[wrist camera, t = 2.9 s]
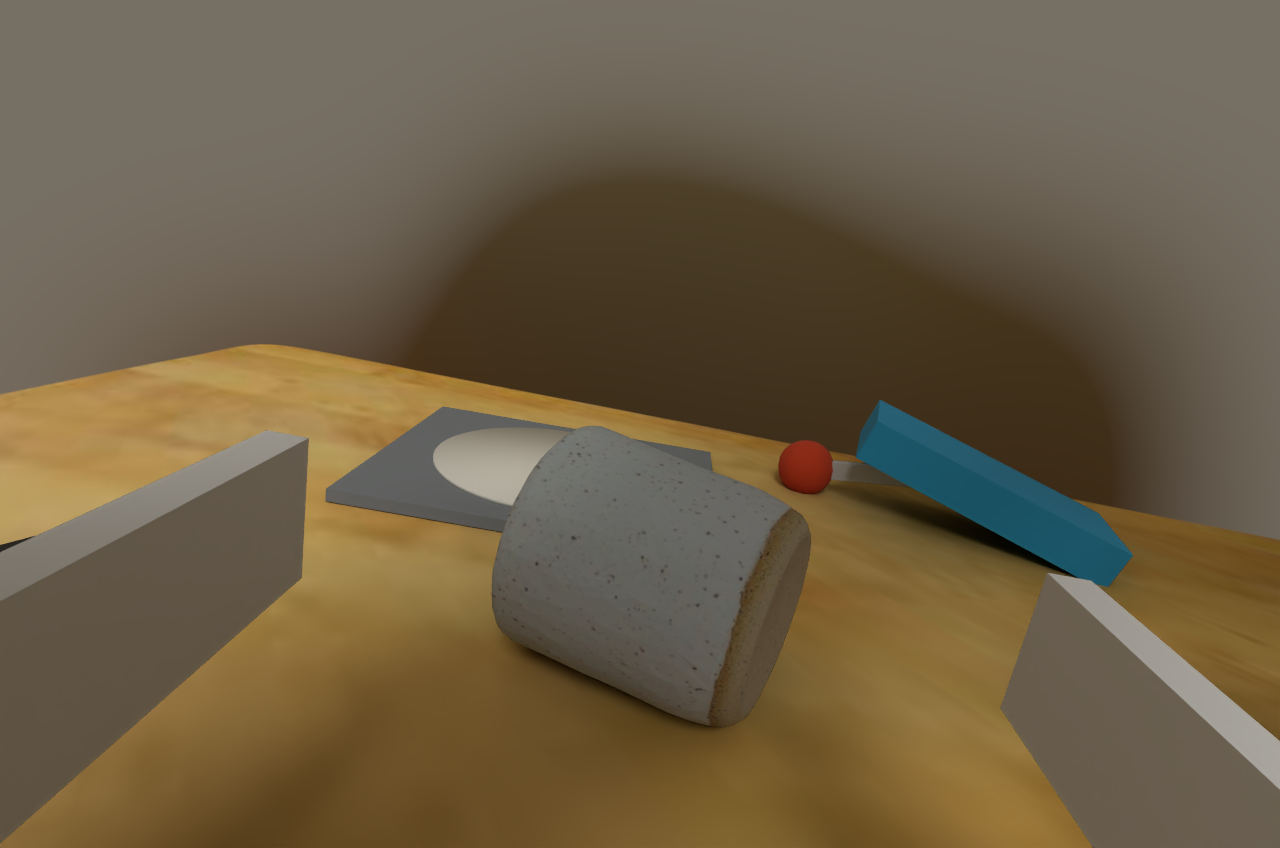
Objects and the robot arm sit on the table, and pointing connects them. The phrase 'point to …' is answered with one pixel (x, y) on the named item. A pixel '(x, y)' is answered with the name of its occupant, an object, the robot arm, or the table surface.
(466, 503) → the mat
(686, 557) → the ceramic mug
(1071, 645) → the robot arm
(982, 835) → the table surface
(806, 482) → the lever
